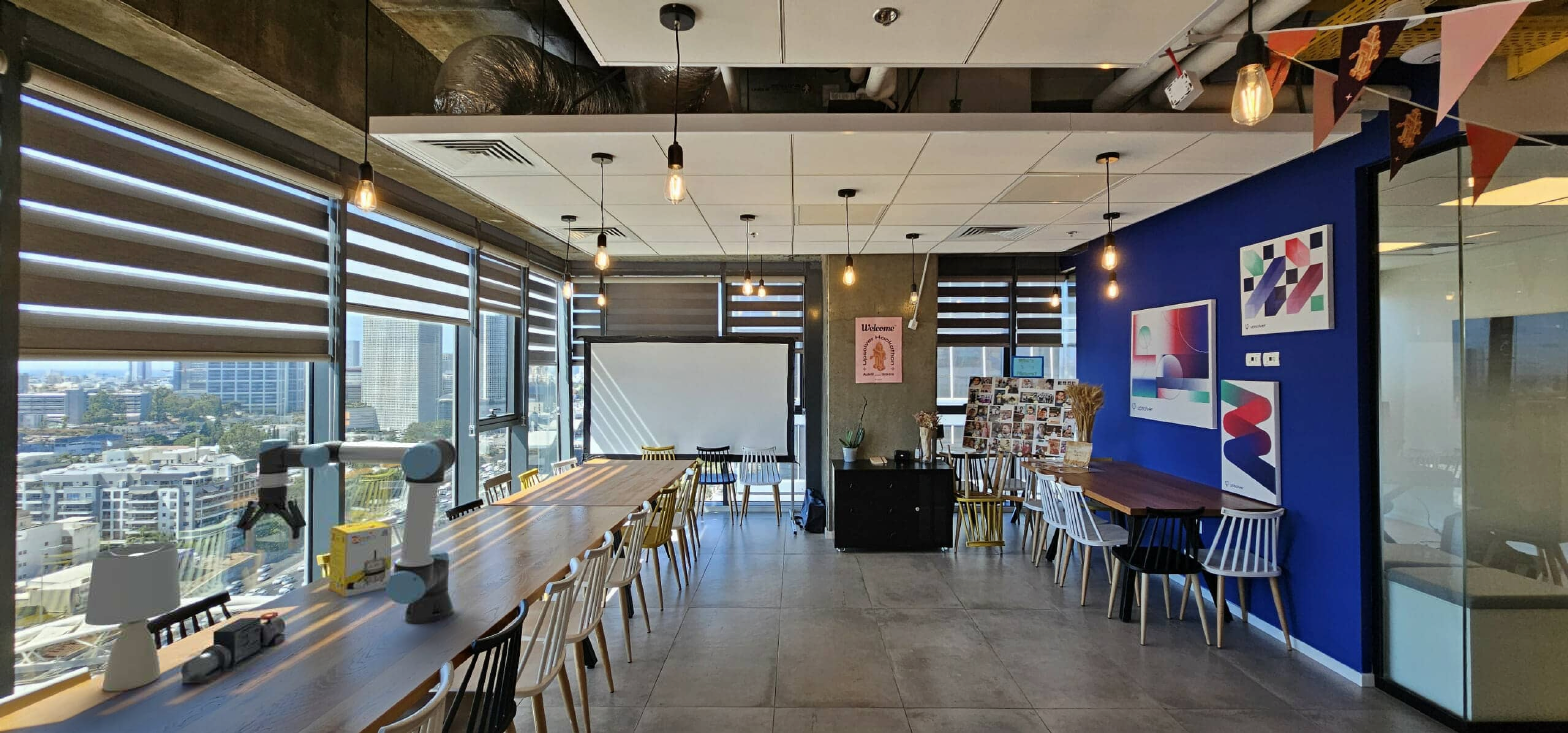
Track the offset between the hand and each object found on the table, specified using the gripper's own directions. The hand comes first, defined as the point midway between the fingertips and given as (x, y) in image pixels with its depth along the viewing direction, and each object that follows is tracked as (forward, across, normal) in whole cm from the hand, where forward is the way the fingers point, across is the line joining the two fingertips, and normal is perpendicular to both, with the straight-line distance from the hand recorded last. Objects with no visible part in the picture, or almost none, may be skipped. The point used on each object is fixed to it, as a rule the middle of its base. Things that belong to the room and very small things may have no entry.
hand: (271, 549), depth 208 cm
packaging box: (+29, -2, -47) cm, 55 cm away
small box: (+28, -4, +19) cm, 34 cm away
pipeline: (+28, -4, +19) cm, 35 cm away
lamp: (+29, +14, +32) cm, 45 cm away
